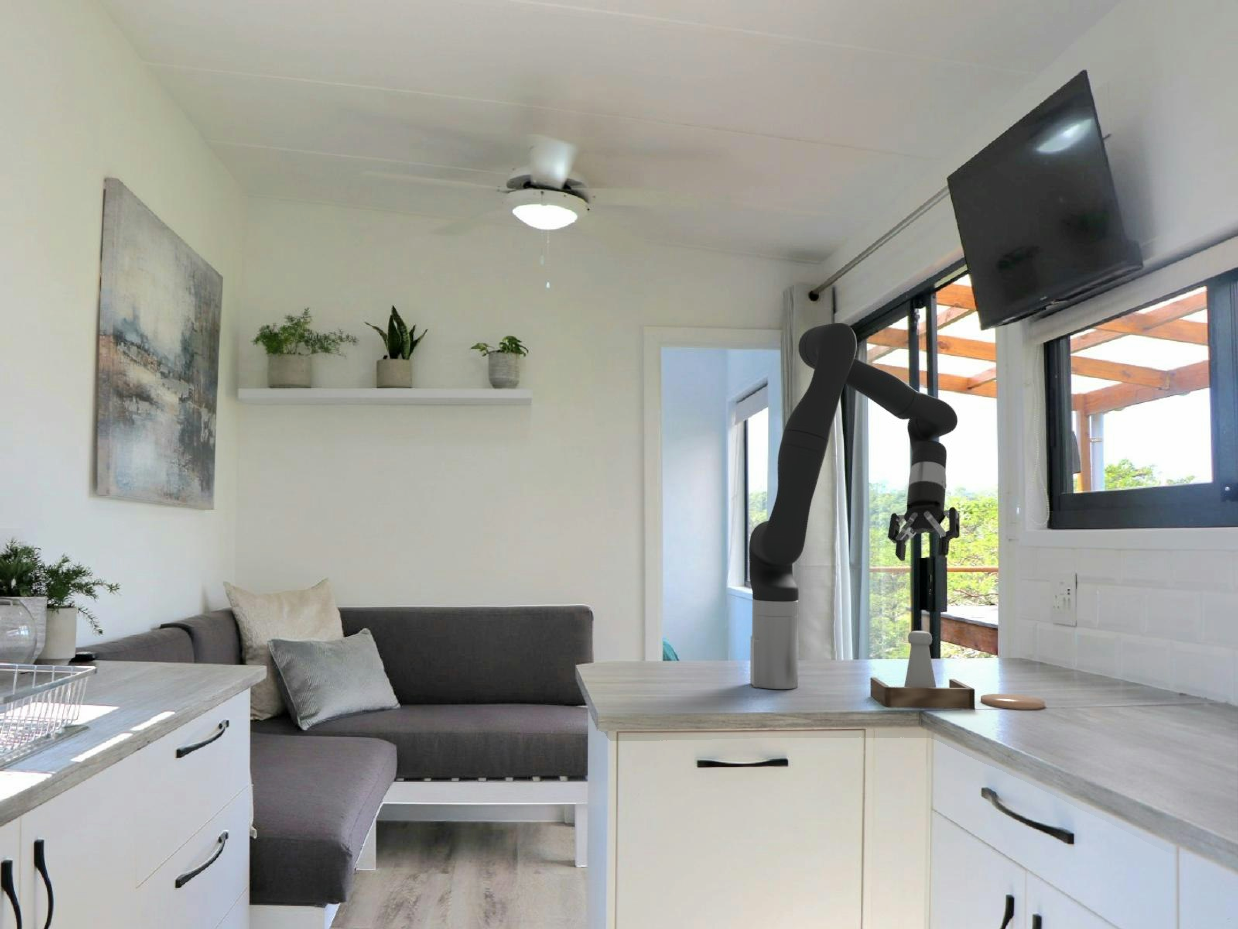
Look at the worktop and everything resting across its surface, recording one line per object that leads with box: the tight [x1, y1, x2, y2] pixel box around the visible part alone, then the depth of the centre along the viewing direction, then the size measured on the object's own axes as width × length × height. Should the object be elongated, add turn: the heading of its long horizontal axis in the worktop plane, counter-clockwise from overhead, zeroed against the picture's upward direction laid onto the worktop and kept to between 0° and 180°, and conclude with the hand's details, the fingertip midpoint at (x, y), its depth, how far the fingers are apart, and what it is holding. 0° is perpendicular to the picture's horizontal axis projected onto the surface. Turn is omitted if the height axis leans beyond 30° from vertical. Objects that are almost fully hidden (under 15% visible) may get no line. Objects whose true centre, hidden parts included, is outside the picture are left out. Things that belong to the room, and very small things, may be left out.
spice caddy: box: [869, 677, 976, 710], centre depth 177 cm, size 16×11×4 cm
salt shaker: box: [903, 630, 937, 688], centre depth 178 cm, size 6×6×13 cm
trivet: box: [980, 693, 1046, 711], centre depth 177 cm, size 11×11×1 cm
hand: (921, 558), depth 193 cm, fingers open, 8 cm apart
